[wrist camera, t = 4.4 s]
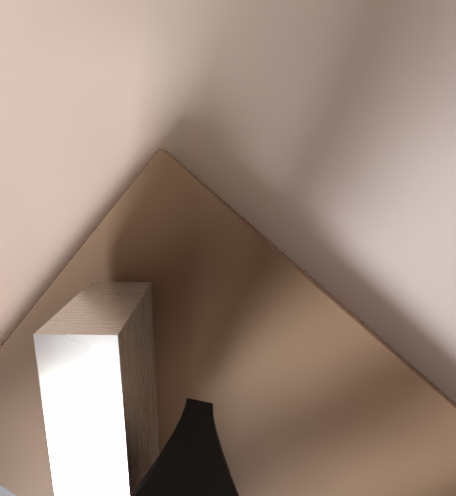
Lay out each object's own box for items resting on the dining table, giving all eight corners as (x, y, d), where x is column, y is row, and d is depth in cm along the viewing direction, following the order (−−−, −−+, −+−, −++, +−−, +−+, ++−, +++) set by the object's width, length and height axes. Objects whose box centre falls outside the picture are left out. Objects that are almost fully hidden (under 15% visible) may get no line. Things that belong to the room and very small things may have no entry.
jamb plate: (548, 485, 13) (573, 510, 12) (317, 656, 15) (323, 689, 14) (165, 150, 10) (159, 149, 9) (-50, 417, 13) (-73, 439, 12)
